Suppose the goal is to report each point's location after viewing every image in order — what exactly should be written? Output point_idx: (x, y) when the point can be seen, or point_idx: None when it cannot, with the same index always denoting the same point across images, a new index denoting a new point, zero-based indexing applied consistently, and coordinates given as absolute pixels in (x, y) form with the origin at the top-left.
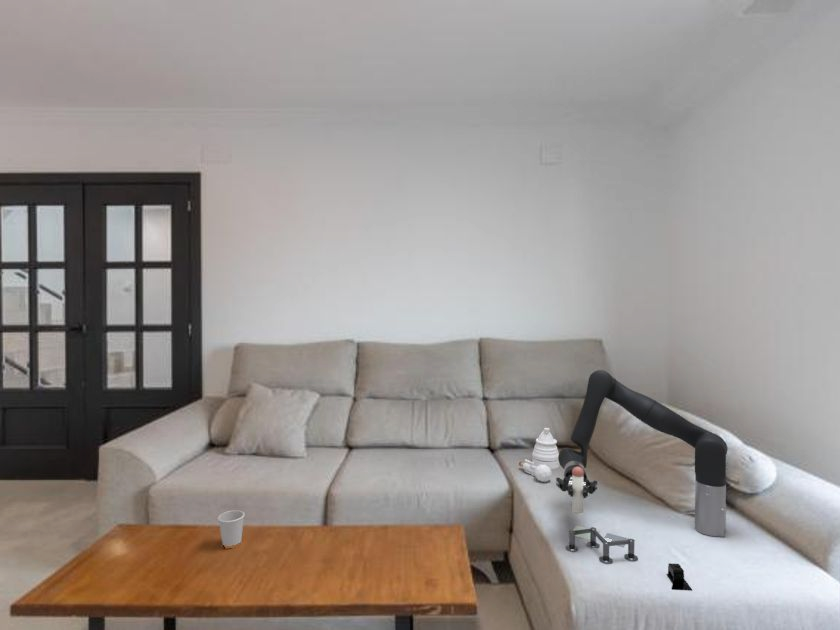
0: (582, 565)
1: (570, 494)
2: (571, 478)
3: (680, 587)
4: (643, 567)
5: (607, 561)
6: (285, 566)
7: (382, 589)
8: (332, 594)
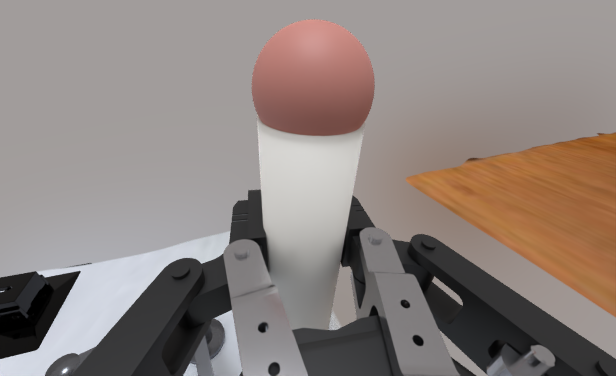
0: None
1: None
2: (436, 368)
3: (49, 282)
4: None
5: None
6: (606, 176)
7: (488, 173)
8: (511, 162)
